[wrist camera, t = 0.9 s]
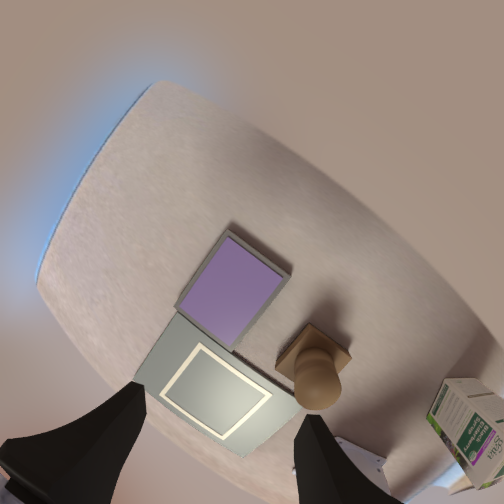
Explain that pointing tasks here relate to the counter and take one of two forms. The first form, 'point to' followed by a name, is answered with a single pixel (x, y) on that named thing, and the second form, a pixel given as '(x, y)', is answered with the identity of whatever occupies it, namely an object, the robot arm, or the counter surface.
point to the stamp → (314, 368)
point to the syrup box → (471, 428)
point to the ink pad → (231, 290)
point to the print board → (214, 388)
